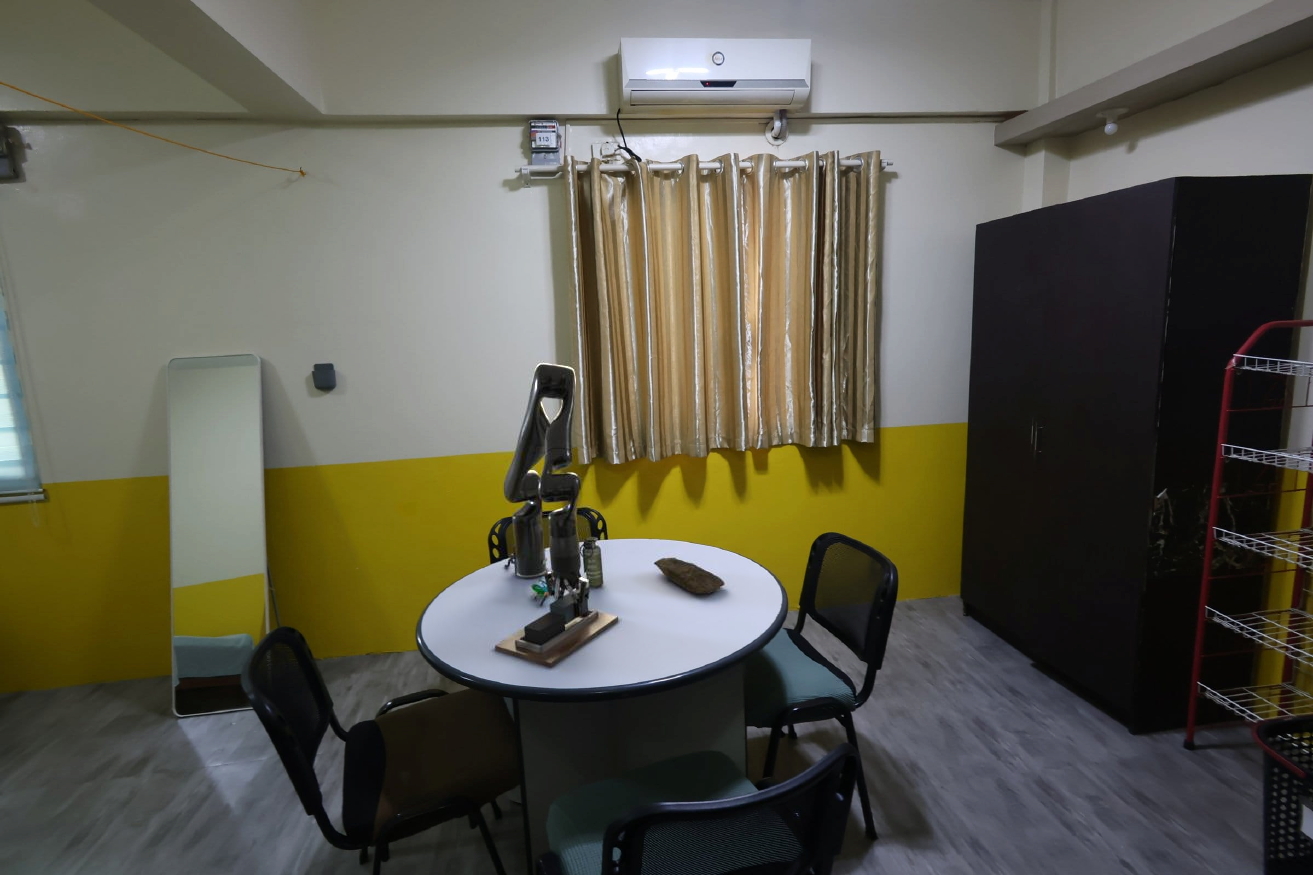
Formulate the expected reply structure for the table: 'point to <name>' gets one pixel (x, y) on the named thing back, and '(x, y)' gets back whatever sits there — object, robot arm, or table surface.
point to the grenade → (592, 562)
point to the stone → (689, 575)
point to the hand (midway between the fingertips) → (569, 613)
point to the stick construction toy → (541, 591)
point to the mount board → (558, 639)
